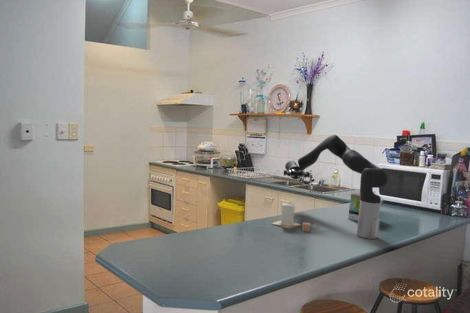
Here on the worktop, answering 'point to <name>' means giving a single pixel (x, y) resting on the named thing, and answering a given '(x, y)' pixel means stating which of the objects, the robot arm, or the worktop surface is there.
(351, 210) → the tea box
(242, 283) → the worktop surface
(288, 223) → the white rectangular block
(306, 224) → the block
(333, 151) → the robot arm
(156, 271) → the worktop surface
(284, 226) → the cork mat
